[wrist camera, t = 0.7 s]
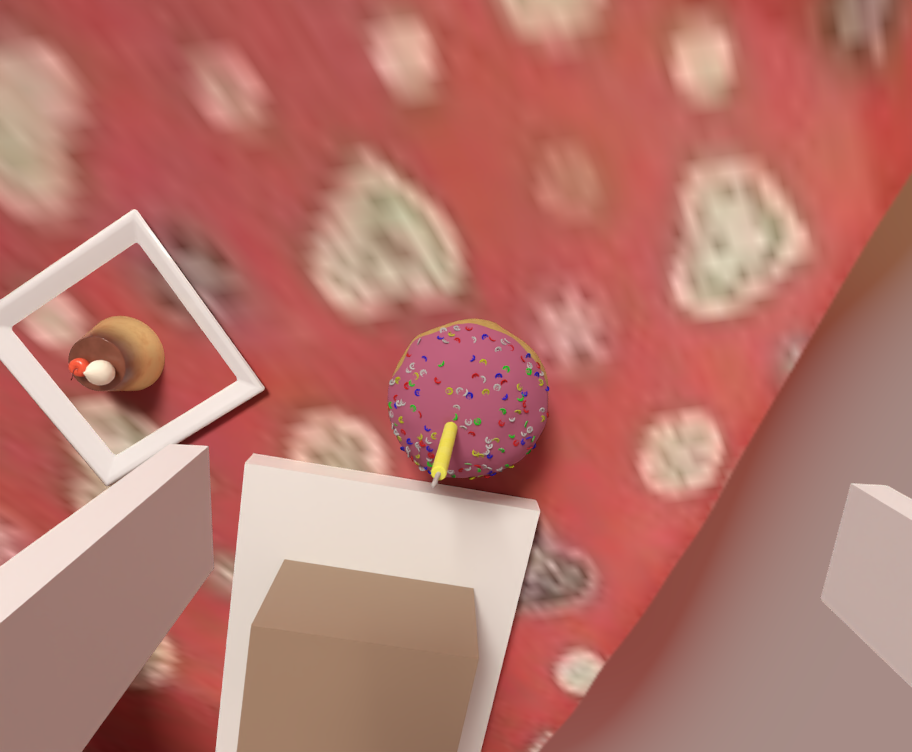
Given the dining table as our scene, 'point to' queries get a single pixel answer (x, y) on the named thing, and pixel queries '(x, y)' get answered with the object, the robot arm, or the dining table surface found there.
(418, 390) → the cupcake
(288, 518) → the plinth
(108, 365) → the white square frame
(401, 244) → the dining table surface
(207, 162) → the dining table surface
